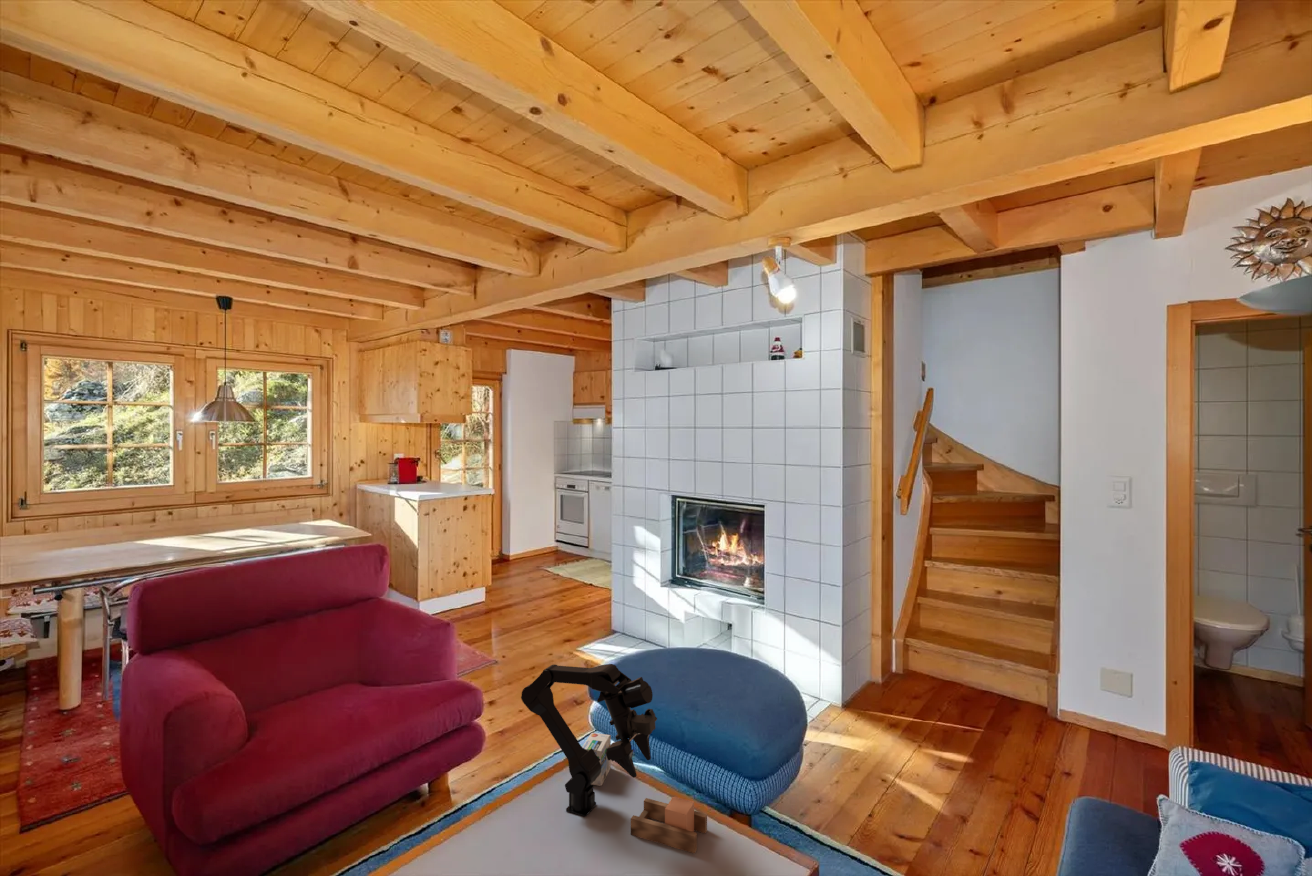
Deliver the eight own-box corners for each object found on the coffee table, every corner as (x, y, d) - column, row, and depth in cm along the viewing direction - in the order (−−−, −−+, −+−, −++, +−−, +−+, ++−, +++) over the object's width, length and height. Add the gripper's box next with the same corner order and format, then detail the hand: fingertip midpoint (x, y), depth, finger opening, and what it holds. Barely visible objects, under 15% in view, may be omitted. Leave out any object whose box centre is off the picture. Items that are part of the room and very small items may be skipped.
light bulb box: (601, 787, 181) (601, 751, 181) (580, 784, 182) (580, 749, 182) (611, 767, 192) (611, 734, 192) (591, 765, 193) (591, 731, 193)
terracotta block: (664, 839, 157) (664, 809, 157) (673, 825, 163) (673, 796, 163) (686, 845, 155) (686, 814, 155) (694, 831, 160) (694, 801, 160)
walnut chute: (630, 835, 159) (630, 818, 159) (645, 814, 168) (645, 798, 168) (694, 854, 152) (694, 836, 152) (707, 830, 161) (707, 814, 161)
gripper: (629, 719, 154) (653, 779, 152) (657, 690, 171) (679, 744, 169) (595, 730, 158) (617, 789, 156) (626, 701, 175) (646, 754, 173)
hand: (642, 768), depth 163 cm, fingers open, 9 cm apart
